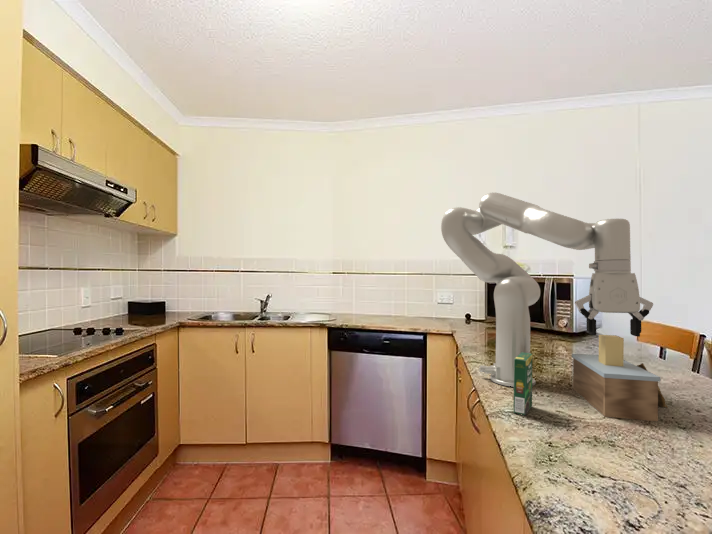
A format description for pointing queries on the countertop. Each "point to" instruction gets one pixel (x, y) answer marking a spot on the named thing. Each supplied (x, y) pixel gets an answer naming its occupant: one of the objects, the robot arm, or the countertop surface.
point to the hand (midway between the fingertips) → (613, 335)
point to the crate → (616, 394)
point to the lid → (614, 361)
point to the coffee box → (523, 383)
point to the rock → (660, 397)
